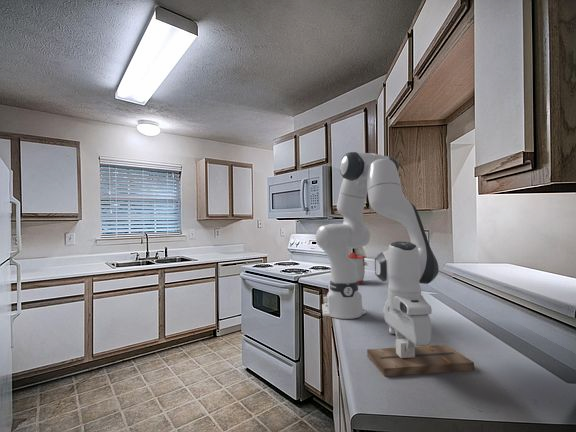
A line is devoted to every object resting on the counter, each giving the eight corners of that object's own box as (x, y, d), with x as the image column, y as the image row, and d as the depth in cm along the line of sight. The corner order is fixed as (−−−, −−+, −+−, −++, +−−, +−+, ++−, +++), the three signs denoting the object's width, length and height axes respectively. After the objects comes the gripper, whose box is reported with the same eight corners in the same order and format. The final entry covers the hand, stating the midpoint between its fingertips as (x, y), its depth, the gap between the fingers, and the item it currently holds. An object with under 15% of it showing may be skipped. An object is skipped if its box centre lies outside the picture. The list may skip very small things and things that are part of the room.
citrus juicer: (367, 286, 189) (366, 253, 189) (339, 284, 194) (338, 253, 195) (368, 281, 204) (368, 251, 204) (342, 280, 209) (342, 250, 210)
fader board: (384, 376, 79) (384, 367, 79) (367, 356, 91) (367, 348, 91) (474, 369, 82) (473, 361, 82) (446, 351, 94) (445, 343, 94)
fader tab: (401, 358, 85) (400, 343, 85) (396, 353, 88) (395, 339, 88) (414, 357, 85) (414, 342, 85) (409, 352, 88) (409, 338, 88)
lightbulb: (379, 332, 111) (379, 301, 111) (393, 329, 113) (393, 299, 113) (391, 338, 105) (391, 306, 105) (406, 335, 107) (405, 303, 107)
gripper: (378, 292, 97) (379, 336, 96) (411, 310, 76) (412, 366, 76) (398, 291, 97) (398, 335, 97) (435, 309, 77) (436, 365, 77)
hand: (405, 349), depth 86 cm, fingers closed on fader tab, 3 cm apart
